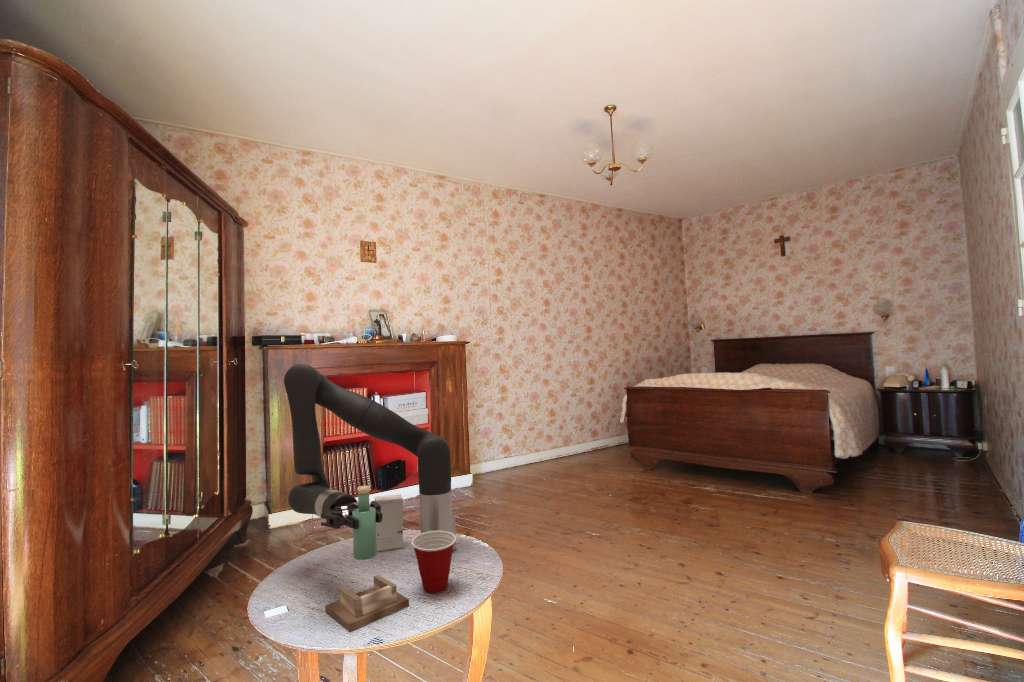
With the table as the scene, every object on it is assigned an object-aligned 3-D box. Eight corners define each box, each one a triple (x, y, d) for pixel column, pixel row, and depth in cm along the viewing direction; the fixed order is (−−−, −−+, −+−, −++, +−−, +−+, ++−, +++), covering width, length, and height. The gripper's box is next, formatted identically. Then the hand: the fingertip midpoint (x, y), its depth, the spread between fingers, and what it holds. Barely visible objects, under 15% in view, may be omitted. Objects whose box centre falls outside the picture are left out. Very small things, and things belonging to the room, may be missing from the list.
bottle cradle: (382, 589, 117) (381, 568, 118) (409, 605, 109) (408, 583, 109) (325, 612, 108) (324, 589, 108) (349, 631, 99) (349, 606, 99)
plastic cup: (414, 602, 110) (413, 549, 111) (411, 582, 120) (409, 533, 121) (461, 594, 113) (459, 542, 114) (454, 575, 124) (452, 527, 124)
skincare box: (375, 552, 142) (373, 501, 143) (374, 545, 148) (373, 496, 148) (404, 547, 144) (402, 497, 145) (402, 541, 150) (401, 492, 151)
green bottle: (370, 549, 112) (368, 483, 113) (380, 554, 109) (378, 486, 109) (349, 555, 109) (347, 487, 110) (360, 561, 105) (358, 491, 106)
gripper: (306, 498, 115) (337, 511, 103) (362, 485, 125) (397, 496, 113) (307, 530, 115) (338, 547, 102) (363, 515, 125) (398, 529, 112)
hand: (368, 521), depth 108 cm, fingers closed on green bottle, 5 cm apart
